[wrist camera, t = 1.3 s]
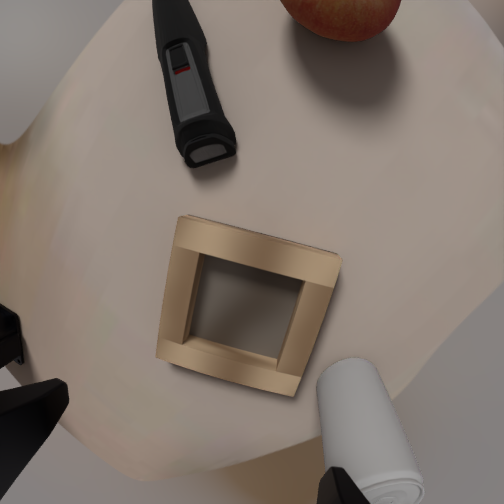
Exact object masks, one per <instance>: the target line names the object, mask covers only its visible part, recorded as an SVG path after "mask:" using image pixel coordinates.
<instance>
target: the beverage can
mask: <svg viewBox="0 0 504 504" xmlns="http://www.w3.org/2000/svg"><path fill="white" fill-rule="evenodd" d="M316 388H317V397H318V405H319V414H320V423H321V432H322V441H323V451H324V462H325V473H326V471H327V470H328V469H329V468H330V467H331V466H337V467H343V468H344V469H345V470H346V472H347V473H348V475H349V476H350V477H351V479H352V480H353V481H354V483H355V484H356V485H357V487H358V488H359V489H360V490H361V492H362V493H363V494H364V496H365V497H366V498H367V500H368V501H369V502H370V503H371V504H419V502H420V501H421V500H422V499H423V496H424V493H425V491H424V486H423V483H424V481H423V476H422V473H421V470H420V468H419V465H418V463H417V460H416V458H415V455H414V453H413V450H412V448H411V445H410V443H409V440H408V438H407V436H406V433H405V431H404V429H403V426H402V424H401V422H400V419H399V417H398V415H397V413H396V410H395V408H394V406H393V403H392V401H391V399H390V397H389V394H388V392H387V390H386V388H385V386H384V383H383V381H382V379H381V377H380V375H379V373H378V370H377V368H376V367H375V366H374V365H373V364H372V363H371V362H369V361H368V360H366V359H362V358H348V359H344V360H341V361H339V362H336V363H334V364H333V365H331V366H330V367H328V368H327V369H326V370H325V371H324V372H323V373H322V374H321V376H320V377H319V379H318V382H317V387H316Z"/></svg>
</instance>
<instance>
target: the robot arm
mask: <svg viewBox="0 0 504 504" xmlns="http://www.w3.org/2000/svg"><path fill="white" fill-rule="evenodd" d="M13 360H14V361H15V362H16V363H18V364H19V365H22V364H23V363H24V360H23V353H22V346H21V339H20V330H19V320H18V316H17V314H16V313H14V312H13V311H11V310H10V309H8V308H6V307H5V306H3V305H2V304H0V369H1V368H2V367H4V366H5V365H7V364H8V363H10V362H11V361H13ZM68 404H69V394H68V386H67V384H66V383H65V382H64V381H62V380H60V379H58V378H54V379H50V380H46V381H42V382H38V383H34V384H30V385H26V386H21V387H17V388H13V389H8V390H3V391H0V500H1V499H2V497H3V496H4V495H5V493H6V492H7V491H8V489H9V488H10V486H11V485H12V484H13V482H14V481H15V480H16V478H17V477H18V476H19V474H20V473H21V472H22V470H23V469H24V468H25V466H26V465H27V464H28V462H29V461H30V460H31V458H32V457H33V456H34V455H35V453H36V452H37V451H38V449H39V448H40V447H41V446H42V444H43V443H44V442H45V440H46V439H47V438H48V437H49V435H50V434H51V432H52V431H53V429H54V427H55V426H56V424H57V422H58V421H59V419H60V417H61V416H62V414H63V413H64V411H65V409H66V408H67V406H68ZM317 504H371V503H370V502H369V501H368V500H367V498H366V497H365V496H364V494H363V493H362V492H361V490H360V489H359V488H358V487H357V485H356V484H355V483H354V481H353V480H352V479H351V477H350V476H349V475H348V473H347V472H346V470H345V469H344V468H343V467H337V466H331V467H330V468H329V469H328V470H327V471H326V473H325V474H324V476H323V477H322V478H321V480H320V483H319V489H318V498H317Z"/></svg>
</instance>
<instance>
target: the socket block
mask: <svg viewBox="0 0 504 504" xmlns="http://www.w3.org/2000/svg"><path fill="white" fill-rule="evenodd" d="M342 261H343V260H342V259H341V258H340V257H339V255H338V254H336V253H333V252H329V251H325V250H322V249H318V248H314V247H311V246H307V245H303V244H299V243H296V242H292V241H288V240H284V239H281V238H277V237H273V236H269V235H266V234H262V233H258V232H254V231H250V230H246V229H243V228H239V227H235V226H231V225H227V224H223V223H219V222H215V221H211V220H207V219H203V218H199V217H195V216H191V215H185V216H180V217H178V221H177V226H176V230H175V236H174V241H173V246H172V251H171V257H170V262H169V268H168V274H167V280H166V286H165V292H164V298H163V305H162V311H161V318H160V326H159V333H158V341H157V349H156V358H159V359H162V360H164V361H167V362H170V363H173V364H176V365H179V366H182V367H185V368H188V369H191V370H194V371H197V372H200V373H204V374H207V375H210V376H214V377H217V378H220V379H224V380H227V381H231V382H235V383H238V384H242V385H246V386H250V387H254V388H258V389H262V390H266V391H270V392H274V393H279V394H283V395H288V396H293V397H294V394H295V392H296V389H297V387H298V384H299V382H300V380H301V377H302V375H303V372H304V370H305V367H306V364H307V362H308V359H309V357H310V354H311V351H312V349H313V346H314V343H315V341H316V338H317V335H318V333H319V330H320V327H321V324H322V321H323V319H324V316H325V313H326V310H327V307H328V304H329V301H330V298H331V295H332V292H333V289H334V286H335V283H336V280H337V277H338V273H339V270H340V267H341V264H342Z"/></svg>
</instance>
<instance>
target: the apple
mask: <svg viewBox="0 0 504 504" xmlns="http://www.w3.org/2000/svg"><path fill="white" fill-rule="evenodd" d="M280 1H281V2H282V4H283V5H284V7H285V8H286V10H287V11H288V12H289V14H290V15H291V16H292V17H293V18H294V19H295V20H296V21H297V22H299V23H300V24H301V25H303V26H304V27H306V28H307V29H309V30H310V31H312V32H314V33H316V34H318V35H320V36H322V37H326V38H329V39H334V40H339V41H348V42H357V41H363V40H366V39H369V38H371V37H373V36H375V35H377V34H379V33H380V32H382V31H383V30H384V29H386V28H387V27H388V26H389V25H390V23H391V22H392V20H393V19H394V17H395V15H396V13H397V11H398V9H399V6H400V3H401V0H280Z"/></svg>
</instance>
